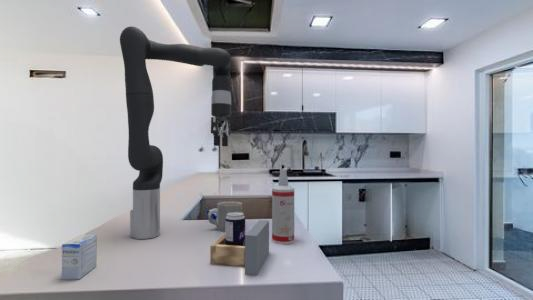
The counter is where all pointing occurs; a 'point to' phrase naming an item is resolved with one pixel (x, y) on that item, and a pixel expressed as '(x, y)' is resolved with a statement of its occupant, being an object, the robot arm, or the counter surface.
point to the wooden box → (227, 254)
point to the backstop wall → (256, 247)
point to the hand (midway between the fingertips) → (221, 146)
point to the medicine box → (79, 256)
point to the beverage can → (235, 229)
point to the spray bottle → (283, 211)
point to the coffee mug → (223, 213)
